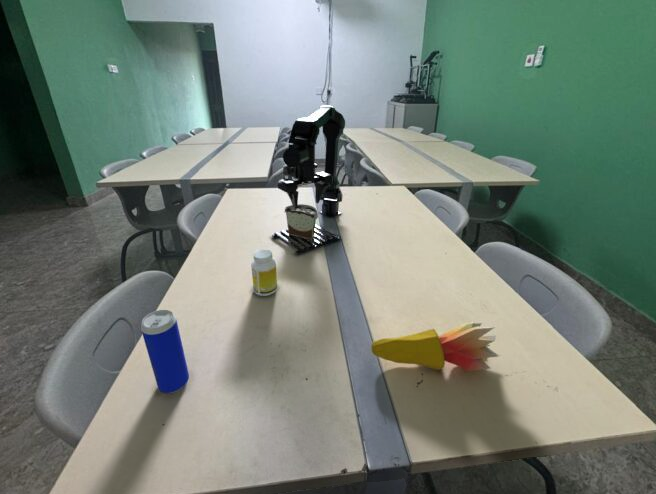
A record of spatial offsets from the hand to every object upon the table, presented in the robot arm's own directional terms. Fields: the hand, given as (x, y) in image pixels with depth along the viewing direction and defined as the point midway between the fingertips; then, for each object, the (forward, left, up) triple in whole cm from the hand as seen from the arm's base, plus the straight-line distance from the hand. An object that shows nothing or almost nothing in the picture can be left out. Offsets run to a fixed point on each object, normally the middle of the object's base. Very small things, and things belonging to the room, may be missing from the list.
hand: (306, 205), depth 108 cm
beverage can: (+54, +34, -12) cm, 65 cm away
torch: (+12, +60, -12) cm, 63 cm away
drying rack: (+1, +1, -12) cm, 12 cm away
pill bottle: (+27, +19, -12) cm, 35 cm away
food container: (+1, 0, -11) cm, 11 cm away
